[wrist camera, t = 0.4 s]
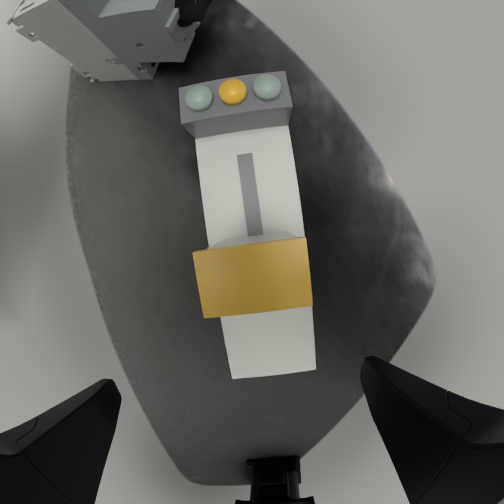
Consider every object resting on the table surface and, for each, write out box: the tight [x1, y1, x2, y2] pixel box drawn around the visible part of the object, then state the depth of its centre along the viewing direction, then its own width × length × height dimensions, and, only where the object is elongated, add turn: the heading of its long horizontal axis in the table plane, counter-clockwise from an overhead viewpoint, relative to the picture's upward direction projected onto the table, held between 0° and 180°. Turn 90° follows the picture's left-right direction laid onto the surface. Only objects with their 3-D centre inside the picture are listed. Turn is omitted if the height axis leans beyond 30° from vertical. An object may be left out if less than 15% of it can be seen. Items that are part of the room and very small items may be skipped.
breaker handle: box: [193, 231, 313, 318], centre depth 17 cm, size 3×5×9 cm, turn 98°
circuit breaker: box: [7, 0, 212, 82], centre depth 14 cm, size 8×14×15 cm, turn 78°
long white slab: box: [179, 71, 316, 379], centre depth 20 cm, size 24×8×6 cm, turn 8°
